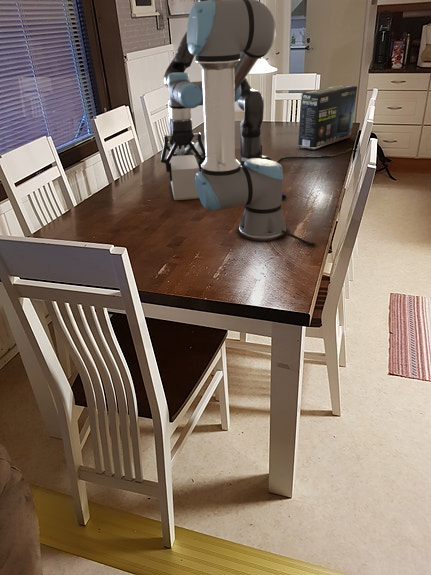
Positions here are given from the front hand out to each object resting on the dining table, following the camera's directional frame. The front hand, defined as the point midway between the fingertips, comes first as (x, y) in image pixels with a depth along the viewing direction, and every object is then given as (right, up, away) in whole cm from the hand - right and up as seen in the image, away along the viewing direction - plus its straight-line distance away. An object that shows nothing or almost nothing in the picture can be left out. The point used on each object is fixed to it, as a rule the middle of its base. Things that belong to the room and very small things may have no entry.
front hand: (185, 178), depth 178 cm
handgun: (+33, -4, +5) cm, 34 cm away
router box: (+70, +35, +66) cm, 103 cm away
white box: (-1, -3, +9) cm, 9 cm away
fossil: (+5, +27, +58) cm, 65 cm away
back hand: (-3, +10, +19) cm, 21 cm away
